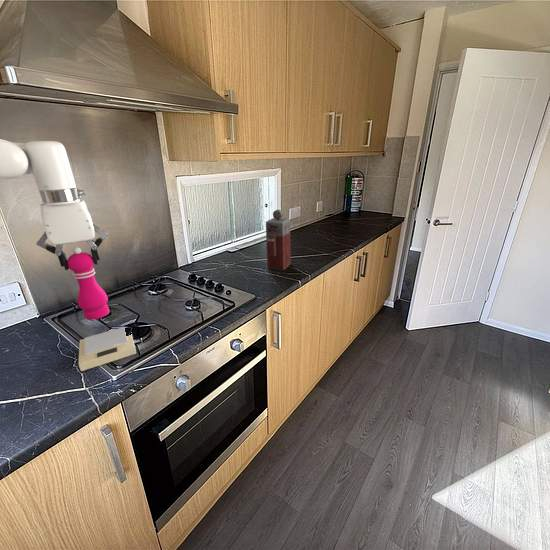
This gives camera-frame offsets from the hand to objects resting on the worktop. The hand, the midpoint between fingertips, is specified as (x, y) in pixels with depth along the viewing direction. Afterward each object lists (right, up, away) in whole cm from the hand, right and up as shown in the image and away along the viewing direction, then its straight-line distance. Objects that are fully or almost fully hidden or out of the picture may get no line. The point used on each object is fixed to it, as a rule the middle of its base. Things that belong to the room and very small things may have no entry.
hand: (81, 265), depth 78 cm
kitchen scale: (+2, -25, +10) cm, 27 cm away
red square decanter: (+53, +1, +68) cm, 86 cm away
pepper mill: (+1, -14, +6) cm, 15 cm away
